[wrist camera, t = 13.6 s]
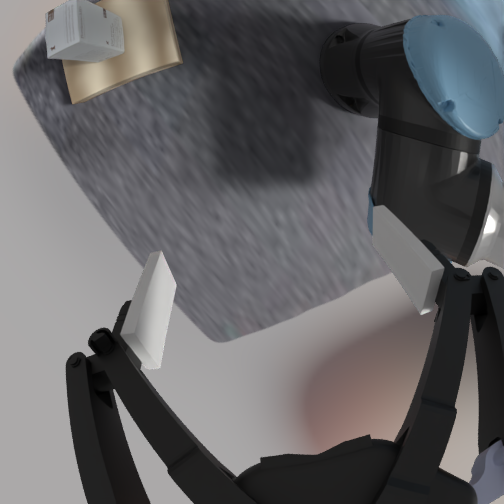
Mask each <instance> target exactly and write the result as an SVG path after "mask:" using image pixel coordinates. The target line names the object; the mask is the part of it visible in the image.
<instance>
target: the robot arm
mask: <svg viewBox="0 0 504 504" xmlns="http://www.w3.org/2000/svg"><path fill="white" fill-rule="evenodd" d="M320 71H321V76H322V79H323V82H324V84H325V86H326V88H327V90H328V91H329V93H330V94H331V96H332V97H333V98H334V99H335V100H336V101H337V102H338V103H339V104H340V105H341V106H342V107H344V108H345V109H347V110H348V111H350V112H352V113H355V114H357V115H361V116H364V117H369V118H378V127H377V139H376V150H375V159H374V168H373V176H372V184H371V187H370V188H369V194H368V197H369V208H368V217H367V222H368V228H369V231H370V233H371V234H372V236H373V238H372V245H373V246H374V248H375V249H376V250H377V252H378V253H379V254H380V256H381V257H382V259H383V260H384V261H385V263H386V264H387V266H388V267H389V268H390V270H391V271H392V273H393V274H394V275H395V277H396V278H397V280H398V281H399V283H400V284H401V285H402V287H403V289H404V290H405V292H406V293H407V295H408V296H409V297H410V299H411V301H412V302H413V303H414V305H415V307H416V308H417V310H418V311H419V313H420V314H421V315H422V314H425V313H427V312H430V311H432V310H433V307H434V304H435V302H436V304H437V305H438V307H439V308H438V311H437V314H436V317H435V320H434V322H435V325H434V330H433V334H432V338H431V342H430V346H429V350H428V353H427V357H426V361H425V364H424V367H423V371H422V374H421V377H420V380H419V383H418V386H417V389H416V392H415V395H414V398H413V400H412V403H411V405H410V408H409V411H408V413H407V416H406V418H405V421H404V423H403V425H402V427H401V429H400V431H399V433H398V435H397V437H396V439H395V441H394V442H392V441H388V440H383V439H371V437H370V435H366V436H362V437H359V438H356V439H353V440H349V441H345V442H343V443H341V444H339V445H337V446H335V447H333V448H331V449H329V450H327V451H325V452H323V453H320V454H318V455H300V454H299V455H298V454H283V455H278V456H269V457H263V458H262V457H261V458H260V460H261V463H258V464H256V465H254V466H252V467H250V468H248V469H246V470H245V471H244V472H242V473H241V474H240V475H239V476H238V477H236V476H235V475H234V474H233V473H232V472H231V471H230V470H228V469H227V468H226V467H225V466H224V465H223V464H221V463H220V462H219V461H218V460H217V459H216V458H215V457H214V456H213V455H212V454H211V453H210V452H209V451H208V450H207V449H206V448H205V447H204V446H203V444H202V443H201V442H200V441H199V440H198V439H197V438H196V437H195V436H194V435H193V434H192V433H191V432H190V431H189V429H188V428H187V427H186V426H185V425H184V424H183V423H182V421H181V420H180V419H179V418H178V417H177V416H176V414H175V413H174V412H173V411H172V410H171V408H170V407H169V406H168V405H167V403H166V402H165V401H164V400H163V398H162V397H161V396H160V395H159V393H158V392H157V391H156V389H155V388H154V387H153V386H152V384H151V383H150V382H149V380H148V379H147V378H146V376H145V375H144V373H143V372H142V371H141V370H140V368H141V364H143V365H144V367H145V368H146V369H160V367H161V361H162V355H163V349H164V344H165V339H166V333H167V328H168V323H169V318H170V313H171V308H172V304H173V299H174V295H175V290H176V286H177V285H176V282H175V280H174V278H173V276H172V274H171V271H170V269H169V267H168V265H167V262H166V260H165V258H164V255H163V253H162V251H157V252H153V253H150V255H149V258H148V260H147V263H146V265H145V268H144V270H143V273H142V275H141V278H140V281H139V283H138V286H137V288H136V291H135V294H134V296H133V299H132V300H130V301H126V302H125V304H124V305H123V306H122V308H121V310H120V312H119V316H118V317H117V322H116V323H115V326H114V329H113V331H112V333H111V331H110V330H109V329H108V328H100V329H98V330H96V331H95V332H94V333H92V335H91V336H90V338H89V340H88V345H89V347H90V348H91V349H92V350H93V351H94V353H95V354H94V355H92V356H89V357H86V356H85V355H84V354H83V353H82V352H77V353H74V354H73V355H71V356H70V357H69V358H68V360H67V362H66V383H67V397H68V408H69V416H70V425H71V432H72V438H73V444H74V449H75V455H76V459H77V464H78V469H79V473H80V477H81V481H82V484H83V489H84V492H85V496H86V499H87V503H88V504H150V501H149V499H148V496H147V494H146V492H145V489H144V487H143V484H142V482H141V479H140V477H139V474H138V472H137V469H136V466H135V464H134V461H133V458H132V455H131V452H130V449H129V446H128V443H127V440H126V437H125V433H124V430H123V427H122V423H121V420H120V416H119V412H118V408H117V405H116V400H115V396H114V392H113V389H115V390H116V392H117V393H118V395H119V397H120V399H121V400H122V402H123V404H124V405H125V407H126V409H127V410H128V412H129V413H130V415H131V416H132V418H133V420H134V421H135V423H136V424H137V426H138V427H139V429H140V430H141V432H142V433H143V435H144V436H145V438H146V439H147V440H148V442H149V443H150V445H151V446H152V447H153V449H154V450H155V451H156V453H157V454H158V456H159V457H160V458H161V459H162V461H163V462H164V463H165V465H166V466H167V468H168V470H167V471H168V474H169V475H170V476H171V478H172V479H173V480H174V482H175V483H176V484H177V485H178V486H179V487H180V488H181V490H182V491H183V492H184V493H185V494H186V495H187V496H188V498H189V499H190V500H191V501H192V502H193V503H194V504H489V503H491V502H492V501H494V500H496V499H497V498H499V497H500V496H502V495H504V276H503V275H502V273H501V272H500V271H499V270H498V269H496V268H493V267H486V268H485V269H484V270H483V273H482V275H479V276H478V275H477V276H471V275H470V273H469V272H467V271H466V270H464V269H462V268H455V267H454V266H453V265H452V264H451V263H452V261H453V262H456V263H458V264H460V265H462V266H465V267H468V266H470V265H472V264H474V263H476V262H478V261H479V260H486V261H488V262H490V263H492V264H494V265H497V266H499V267H501V268H503V269H504V182H503V181H502V180H501V178H500V176H499V174H498V172H497V170H496V168H495V166H494V164H492V163H490V162H487V161H485V160H482V159H480V158H479V152H480V146H481V139H485V138H489V137H491V136H493V135H494V134H495V133H496V132H497V131H498V130H499V124H502V123H503V121H504V75H503V72H502V69H501V66H500V64H499V62H498V59H497V57H496V56H495V55H494V53H493V51H492V49H491V47H490V46H489V44H488V43H487V42H486V40H485V39H484V38H483V37H482V36H481V35H480V34H479V33H478V32H477V31H476V30H475V29H474V28H473V27H471V26H470V25H469V24H467V23H466V22H464V21H462V20H460V19H458V18H455V17H452V16H447V15H432V16H427V15H423V16H421V15H419V16H415V17H413V18H412V19H408V20H404V21H401V22H397V23H393V24H390V25H386V26H383V27H381V26H377V25H373V24H367V23H358V24H352V25H348V26H346V27H343V28H341V29H339V30H337V31H336V32H334V33H333V34H332V35H331V36H330V37H329V38H328V39H327V41H326V42H325V44H324V46H323V48H322V51H321V56H320ZM470 319H471V324H472V330H473V337H474V345H475V352H476V363H477V374H478V392H479V393H478V394H479V426H478V447H479V455H478V456H477V458H476V460H475V462H474V465H473V467H472V471H471V472H472V478H471V480H470V482H469V483H468V482H466V481H464V480H462V479H460V478H458V477H456V476H454V475H452V474H450V473H448V472H447V471H444V470H443V469H441V468H439V465H440V462H441V460H442V457H443V455H444V452H445V449H446V446H447V443H448V441H449V438H450V435H451V431H452V428H453V425H454V421H455V418H456V414H457V409H456V408H455V402H456V398H457V394H458V390H459V386H460V381H461V376H462V371H463V366H464V360H465V354H466V348H467V341H468V332H469V323H470Z"/></svg>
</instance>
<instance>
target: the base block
mask: <svg viewBox="0 0 504 504" xmlns="http://www.w3.org/2000/svg"><path fill="white" fill-rule="evenodd" d="M95 5H97V6H99V7H102V8H104V9H106V10H108V11H110V12H112V13H114V14H116V15H118V16H120V17H121V19H122V26H123V35H124V49H125V51H124V53H123V54H120V55H118V56H115V57H112V58H109V59H107V60H104V61H101V62H99V63H97V62H88V61H78V60H64V59H62V62H63V67H64V72H65V76H66V81H67V85H68V89H69V93H70V97H71V101H72V104H77V103H82V102H86V101H88V100H90V99H92V98H94V97H96V96H99V95H101V94H103V93H105V92H107V91H109V90H112V89H114V88H116V87H119V86H121V85H123V84H126V83H128V82H131V81H133V80H136V79H139V78H141V77H144V76H147V75H149V74H152V73H155V72H158V71H161V70H164V69H167V68H170V67H173V66H177V65H180V64H183V61H182V56H181V52H180V48H179V44H178V40H177V36H176V32H175V27H174V23H173V19H172V15H171V10H170V6H169V2H168V0H101V1H99V2H97V3H95Z"/></svg>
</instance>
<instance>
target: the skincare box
mask: <svg viewBox="0 0 504 504" xmlns="http://www.w3.org/2000/svg"><path fill="white" fill-rule="evenodd" d="M45 40H46V45H47V58H48V59H64V60H78V61H88V62H97V63H99V62H101V61H104V60H107V59H109V58H112V57H115V56H118V55H120V54H123V53H124V51H125V49H124V35H123V26H122V19H121V17H120V16H118V15H116V14H114V13H112V12H110V11H108V10H106V9H104V8H102V7H99V6H97V5H95V4H93V3H91V2H89V1H86V0H69V1H67V2H65V3H63V4H62V5H60V6H58V7H56V8H54V9H53V10H51V11H49V12H47V13H46V29H45Z"/></svg>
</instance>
